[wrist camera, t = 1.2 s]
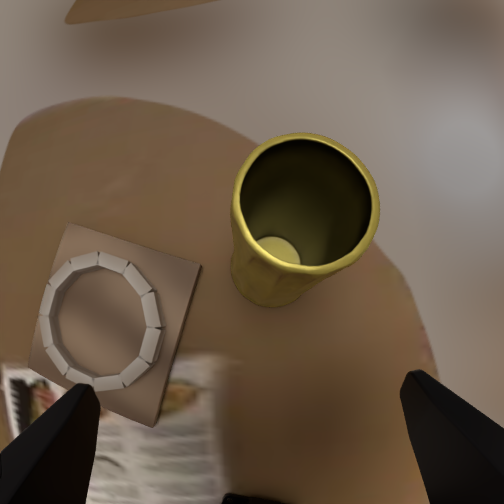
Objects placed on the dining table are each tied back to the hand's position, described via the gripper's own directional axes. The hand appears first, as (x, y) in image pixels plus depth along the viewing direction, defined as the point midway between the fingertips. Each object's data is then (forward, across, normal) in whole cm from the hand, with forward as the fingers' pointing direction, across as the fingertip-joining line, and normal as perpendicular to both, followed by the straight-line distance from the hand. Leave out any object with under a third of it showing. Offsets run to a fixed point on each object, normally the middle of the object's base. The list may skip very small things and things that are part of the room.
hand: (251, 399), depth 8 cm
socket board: (+14, +11, +8) cm, 19 cm away
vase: (+16, -2, +5) cm, 17 cm away
